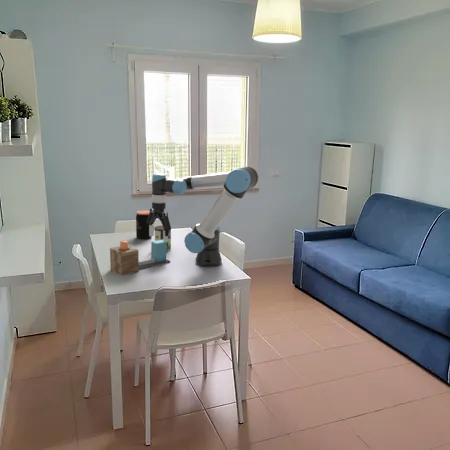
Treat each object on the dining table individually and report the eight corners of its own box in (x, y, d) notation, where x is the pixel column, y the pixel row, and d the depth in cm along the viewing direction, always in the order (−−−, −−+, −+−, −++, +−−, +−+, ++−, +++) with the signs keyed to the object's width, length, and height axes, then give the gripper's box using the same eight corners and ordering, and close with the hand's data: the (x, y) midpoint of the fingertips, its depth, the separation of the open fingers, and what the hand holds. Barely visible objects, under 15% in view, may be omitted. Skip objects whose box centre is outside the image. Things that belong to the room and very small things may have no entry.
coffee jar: (135, 235, 310) (135, 210, 306) (150, 235, 313) (150, 210, 309) (137, 240, 300) (136, 213, 296) (153, 239, 303) (153, 213, 299)
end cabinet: (139, 271, 240) (139, 249, 237) (122, 275, 233) (121, 253, 230) (127, 265, 249) (127, 244, 246) (110, 269, 242) (110, 248, 239)
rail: (170, 262, 256) (170, 257, 256) (137, 270, 242) (137, 264, 241) (162, 258, 262) (162, 254, 261) (129, 266, 247) (129, 261, 246)
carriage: (166, 260, 256) (166, 241, 254) (156, 262, 251) (156, 243, 249) (161, 257, 260) (161, 239, 257) (151, 260, 255) (151, 241, 252)
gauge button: (129, 252, 238) (129, 242, 237) (122, 254, 236) (122, 243, 234) (125, 251, 241) (125, 240, 240) (118, 252, 238) (118, 241, 237)
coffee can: (173, 247, 285) (173, 226, 282) (167, 252, 275) (168, 230, 272) (157, 246, 287) (157, 225, 284) (152, 250, 277) (152, 228, 274)
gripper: (177, 205, 241) (177, 242, 246) (151, 197, 259) (151, 232, 264) (166, 206, 236) (166, 244, 241) (140, 198, 254) (140, 234, 259)
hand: (158, 238), depth 253 cm, fingers open, 13 cm apart
